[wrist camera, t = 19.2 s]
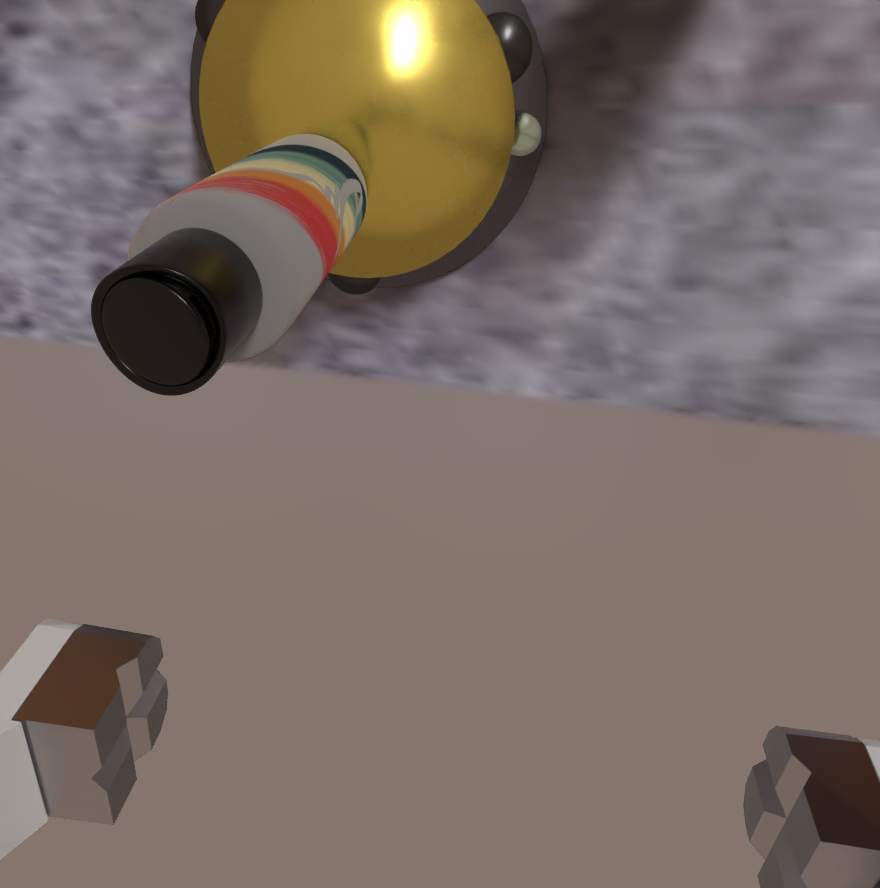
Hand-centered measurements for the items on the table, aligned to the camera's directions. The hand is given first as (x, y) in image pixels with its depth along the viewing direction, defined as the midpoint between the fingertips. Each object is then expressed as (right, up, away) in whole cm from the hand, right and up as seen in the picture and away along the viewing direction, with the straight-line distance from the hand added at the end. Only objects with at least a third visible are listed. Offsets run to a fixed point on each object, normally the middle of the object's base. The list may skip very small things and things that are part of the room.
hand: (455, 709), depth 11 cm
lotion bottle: (-6, +16, +29) cm, 33 cm away
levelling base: (-4, +20, +30) cm, 36 cm away
